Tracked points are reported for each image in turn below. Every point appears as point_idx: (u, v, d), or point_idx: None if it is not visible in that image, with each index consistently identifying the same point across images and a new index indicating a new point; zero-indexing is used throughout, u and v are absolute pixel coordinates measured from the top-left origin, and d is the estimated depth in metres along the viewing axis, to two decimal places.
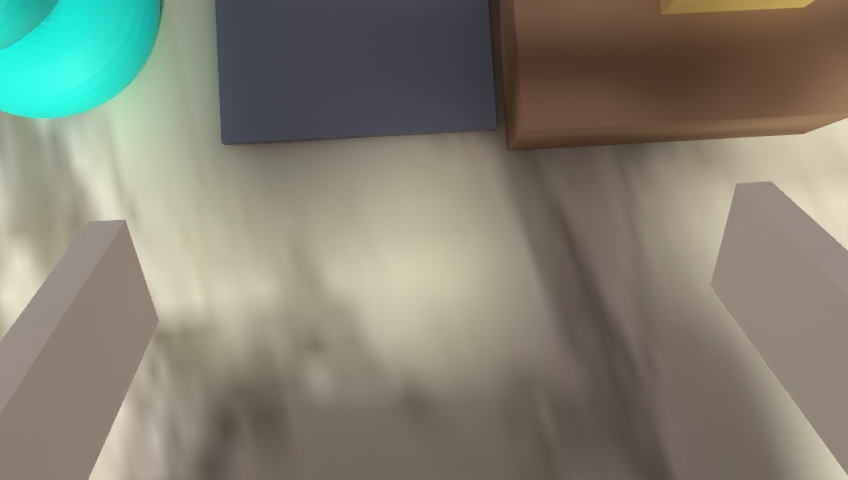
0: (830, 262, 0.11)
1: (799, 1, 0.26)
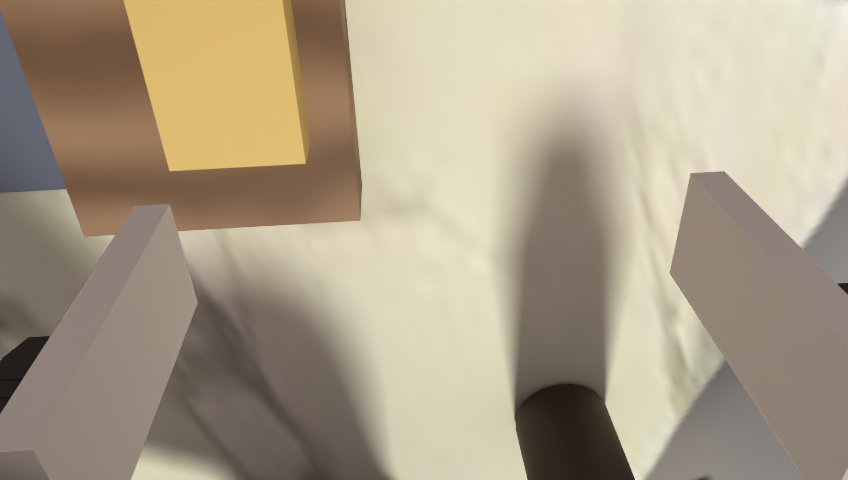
0: (771, 246, 0.12)
1: None
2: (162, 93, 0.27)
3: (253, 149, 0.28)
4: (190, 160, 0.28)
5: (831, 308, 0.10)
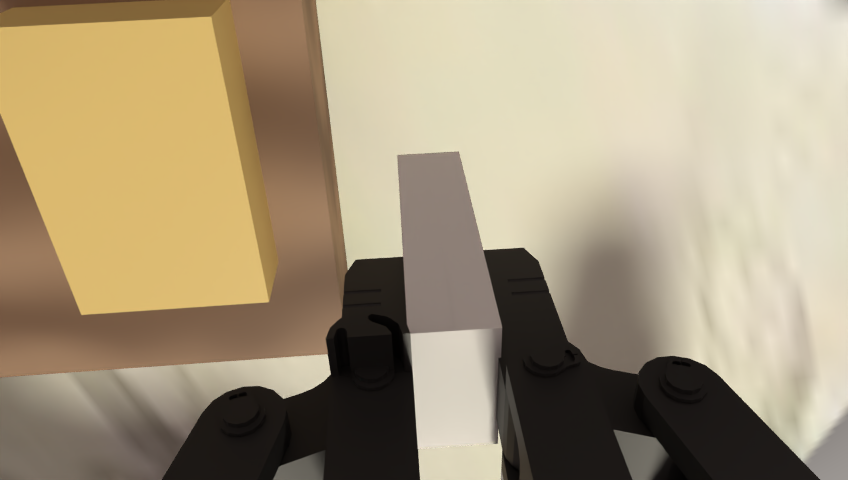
0: (448, 215, 0.13)
1: None
2: (62, 218, 0.19)
3: (196, 286, 0.20)
4: (109, 301, 0.21)
5: (461, 265, 0.12)
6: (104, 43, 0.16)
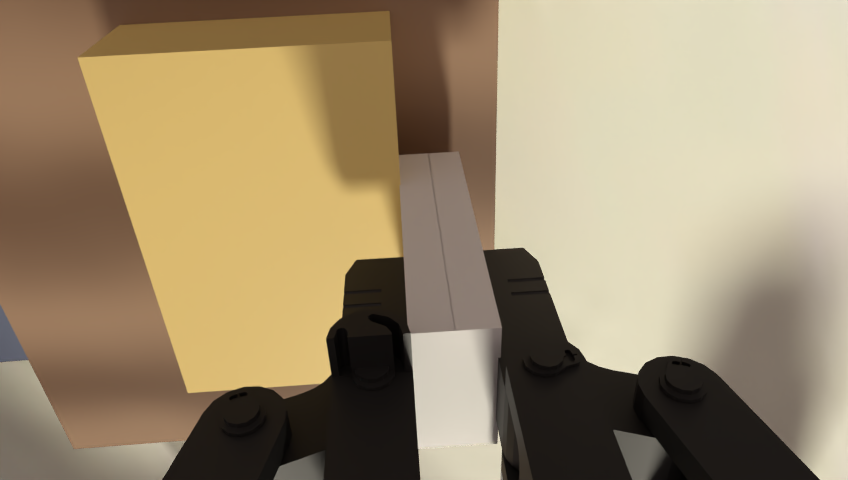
0: (448, 215, 0.13)
1: None
2: (176, 285, 0.15)
3: (328, 360, 0.17)
4: (222, 378, 0.17)
5: (460, 265, 0.12)
6: (251, 75, 0.13)
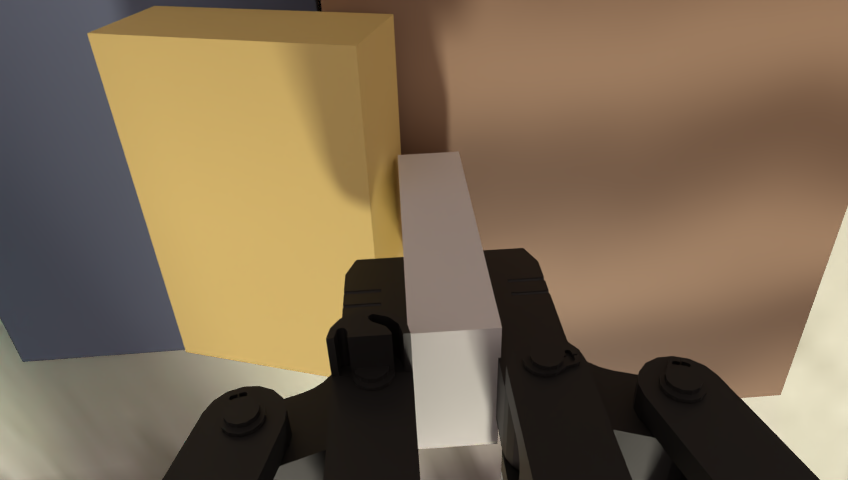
0: (448, 215, 0.13)
1: None
2: (173, 252, 0.16)
3: (306, 350, 0.17)
4: (214, 345, 0.18)
5: (460, 266, 0.12)
6: (229, 66, 0.13)
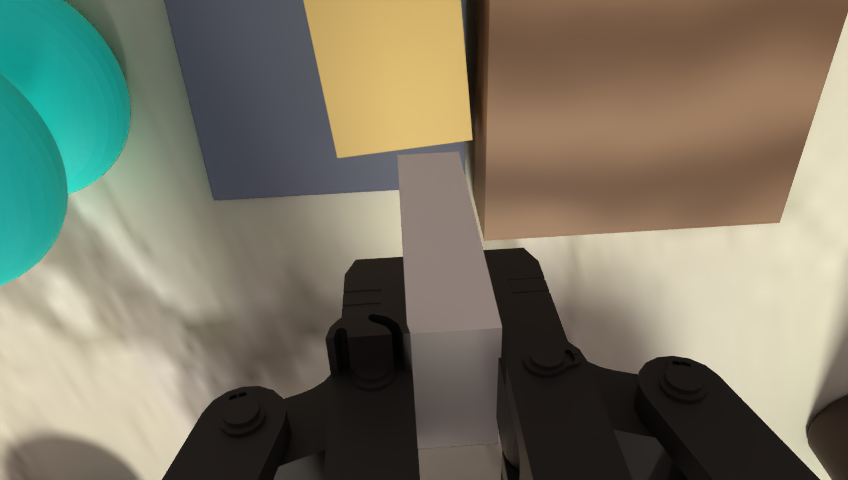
0: (448, 215, 0.13)
1: None
2: (334, 79, 0.26)
3: (421, 129, 0.28)
4: (358, 145, 0.28)
5: (460, 265, 0.12)
6: None
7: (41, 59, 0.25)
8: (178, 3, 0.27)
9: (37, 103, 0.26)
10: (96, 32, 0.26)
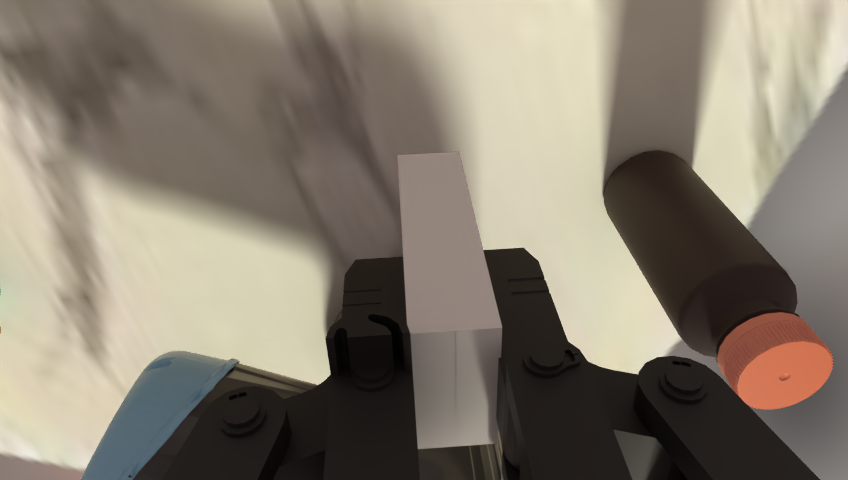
0: (448, 215, 0.13)
1: None
2: None
3: None
4: None
5: (461, 265, 0.12)
6: None
7: None
8: None
9: None
10: None
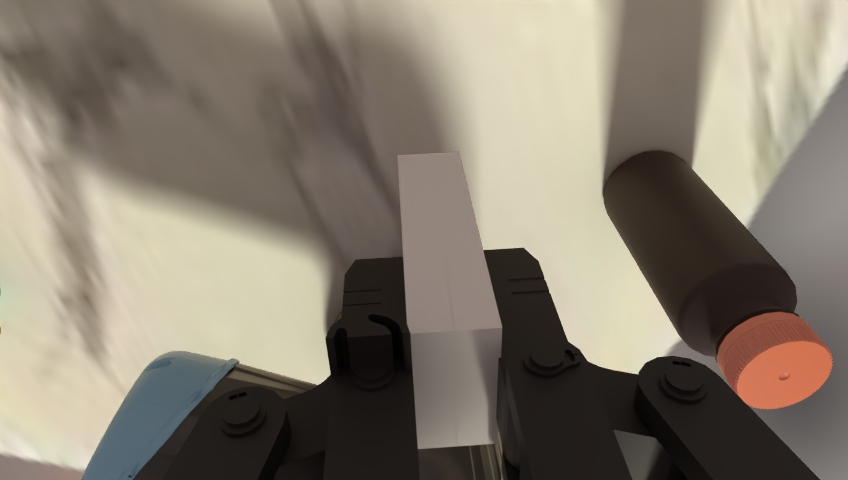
0: (448, 215, 0.13)
1: None
2: None
3: None
4: None
5: (461, 266, 0.12)
6: None
7: None
8: None
9: None
10: None
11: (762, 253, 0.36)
